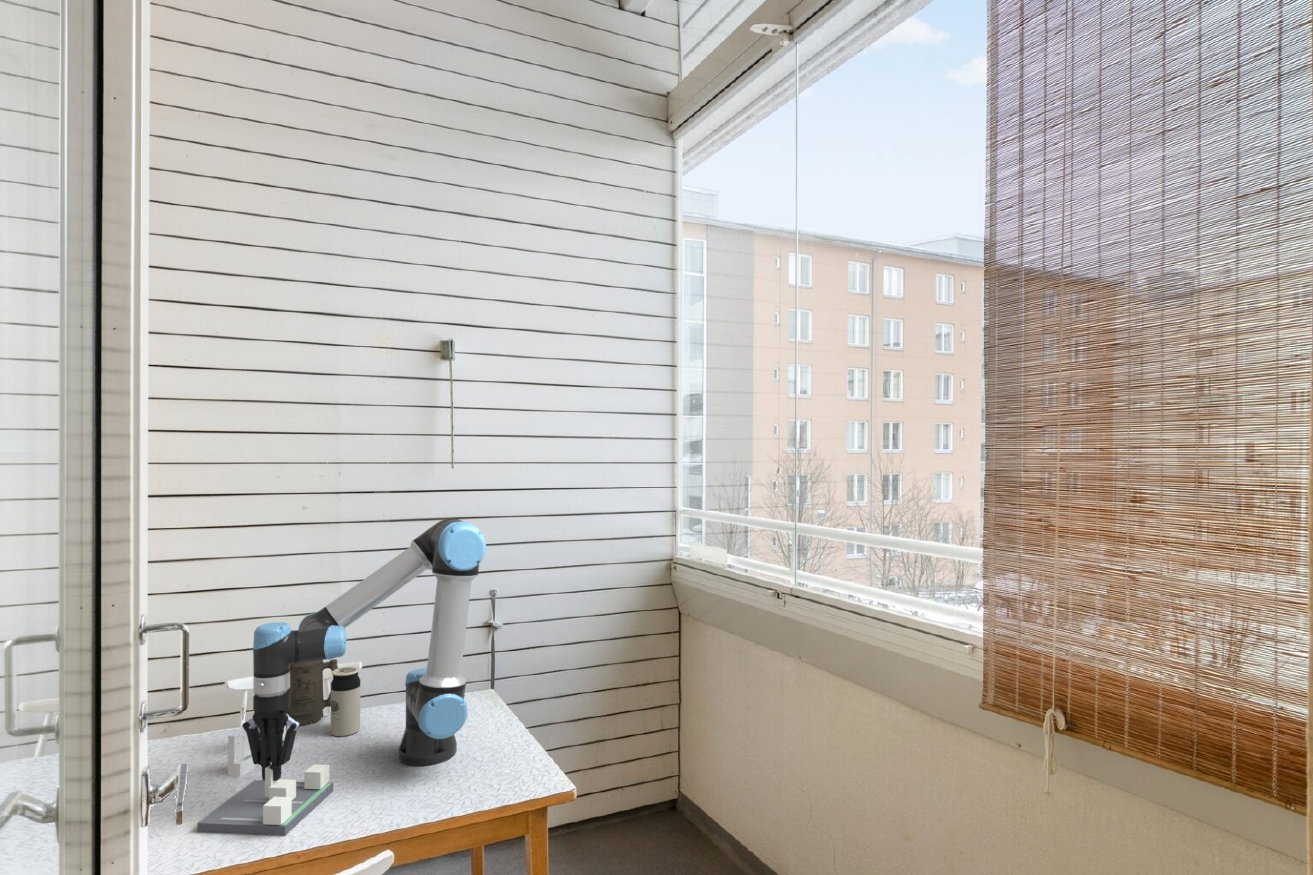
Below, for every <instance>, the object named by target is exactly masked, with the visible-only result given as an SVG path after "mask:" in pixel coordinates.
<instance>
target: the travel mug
mask: <svg viewBox="0 0 1313 875" xmlns="http://www.w3.org/2000/svg"><path fill="white" fill-rule="evenodd" d="M359 672H360V668H359V667H357V666H343V667H338V669H335V670H333V671H332V670H331V675H332V681H331V683H330V691H331V707H330V735H332V736H335V737H349V736H352V735H354V734H356V733H358V732H359V731H360V730H361V678H360V676H359Z"/></svg>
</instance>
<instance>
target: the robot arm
mask: <svg viewBox="0 0 1313 875" xmlns="http://www.w3.org/2000/svg"><path fill="white" fill-rule="evenodd" d="M486 551H487V543H486V539H485V536H484V535H483V533H482V532H481V530H480V529H479V528H478V527H477V526H475V525H474V524H473V523H470V522H468V521H464V520H461V519H459V518H454V517H453V518H445V519H442V520H440V521H438V522H436V523H435V524H433V525H432V526H431V527H429V528H428V529H426V530H425V531H424V532H423V533H421V534H419V535H418V536H417V537H415V538H414V539H413V540H412V541H411V543H410V545H409V547H408V548H407V549H405V550H404V551H402V552H401V553H399V554H398V555H396V556H395V557H393V558H392V559H391V560H389V561H388V562H387V563H385V564H384V565H382V566H380V568H378V569H377V570H375V571H374V572H373V573H371V574H369V575H368V576H367V577H366V578H364V579H363V580H361V581H359V582H358V583H357V584H355V585H354V586H352V587H351V588H350V589H348V590H347V591H345V592H344V593H343V594H342V595H340V596H338V597H337V598H335V599H333V601H331V602H330V603H328V604H327V605H326V606H324V607H323V608H321V609H320V610H318V611H317V612H313V613H310V614H308V615H306V616H304V617H303V619H301V621H300V623H299V627H298V629H297V630H293V629H292V628H291V625H290V623H288V622H286V621H285V622H282V621H279V622H277V621H276V622H269V623H264V624H260V625H259V626H257V627H256V628H255V630H254V632H253V646H252V650H253V651H252V654H253V656H252V660H253V662H252V663H253V664H252V665H253V669H252V670H253V671H252V672H253V675H252V676H253V685H252V686H253V687H252V689H253V698H252V701H253V702H252V706H253V708H252V709H253V715H252V718H251V719H249V720H246V721H245V722H244V723H242V729H243V731H244V732H245V733H246V738H247V739H248V742H249V746H250V750H251V755H252V759H253V763H254V764H255V765H256V764H257V765H259V766H260V767H261V780H263V781H265V797H269V787H270V786H272V785H273V784H274V783H276V782H277V781H278V780H279V779H282V766H284V765H285V764H286V763H287V762H289V761H290V760H291V756H292V752H293V748H294V743H295V739H296V735H297V730H298V729H299V728H300V727H301V726H300V725H301V722H300V721H299V720H298V721H295V720H293V719H292V718H291V714H290V712H289V706H290V691H289V690H288V689H289V688H290V664H293V663H301V662H309V661H317V660H323V661H324V660H327V661H328V660H329V661H331V660H332V659H337V658H341V657H343V656H345V654H346V651H347V635H346V634H347V633H346V628H347V627H349V626H350V625H351V624H354V623H355V622H356V621H357V620H359V619H360V618H362V617H363V616H364V615H366V614H367V613H368V612H370V611H371V610H372V609H374V608H375V607H377V606H378V605H379V604H381V603H382V602H383V601H385V600H386V599H388V598H389V597H390V596H392V595H393V594H395V593H396V592H397V591H399V590H400V589H401V588H404V587H405V586H406V585H407V584H408V583H411V581H413V580H414V579H415V578H417V577H418V576H420V575H421V574H423V573H424V572H425V571H426V570H431V573H432V574H433V576H434V577H435V578H436V587H435V595H434V604H433V614H432V621H431V622H432V623H431V632H430V637H429V638H430V640H429V648H428V656H427V666H426V667H422V668H417V669H413V670H411V671H409V672H408V673H406V677H405V683H404V685H405V729H404V731H403V735H402V737H401V741H400V743H399V746H398V760H399V761H400V762H401V763H403V764H405V765H409V766H419V767H420V766H421V767H422V766H431V765H436V764H440V763H443V762H446V761H448V760H450V759H451V758H452V757H454V756H455V755H456V753H457V747H458V746H457V739H456V736H455V735H456V733H457V732H458V731H460V730H461V729H462V728H463V726H464V725H465V723H466V721H467V718H468V705H467V702H466V701H465V695H466V694H465V693H466V688H467V686H466V685H467V679H466V678H465V677H464V675H463V674H462V666H463V660H464V659H463V658H464V649H465V648H464V647H465V642H466V641H465V640H466V631H467V623H468V622H467V621H468V615H469V614H468V613H469V606H470V605H469V604H470V596H471V587H472V581H474V580H475V578H477V577H478V576H479V569H480V563H481V562H482V561H483V560H484V558H485V555H486ZM286 724H287V728H286V729H287V732H286V735H285V739H284V743H283V733H284V727H285V726H286ZM258 728H259V730H258ZM260 738H261V739H260Z"/></svg>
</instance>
